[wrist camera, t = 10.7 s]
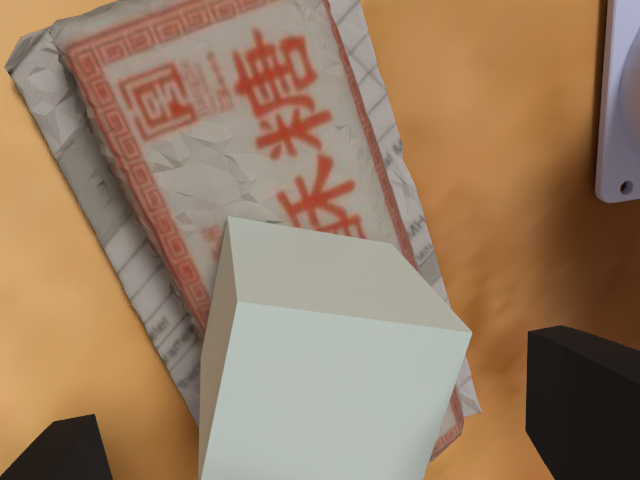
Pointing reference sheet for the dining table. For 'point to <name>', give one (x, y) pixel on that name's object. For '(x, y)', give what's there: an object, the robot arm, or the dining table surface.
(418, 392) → the mint block
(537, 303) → the dining table surface
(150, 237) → the packaged product
